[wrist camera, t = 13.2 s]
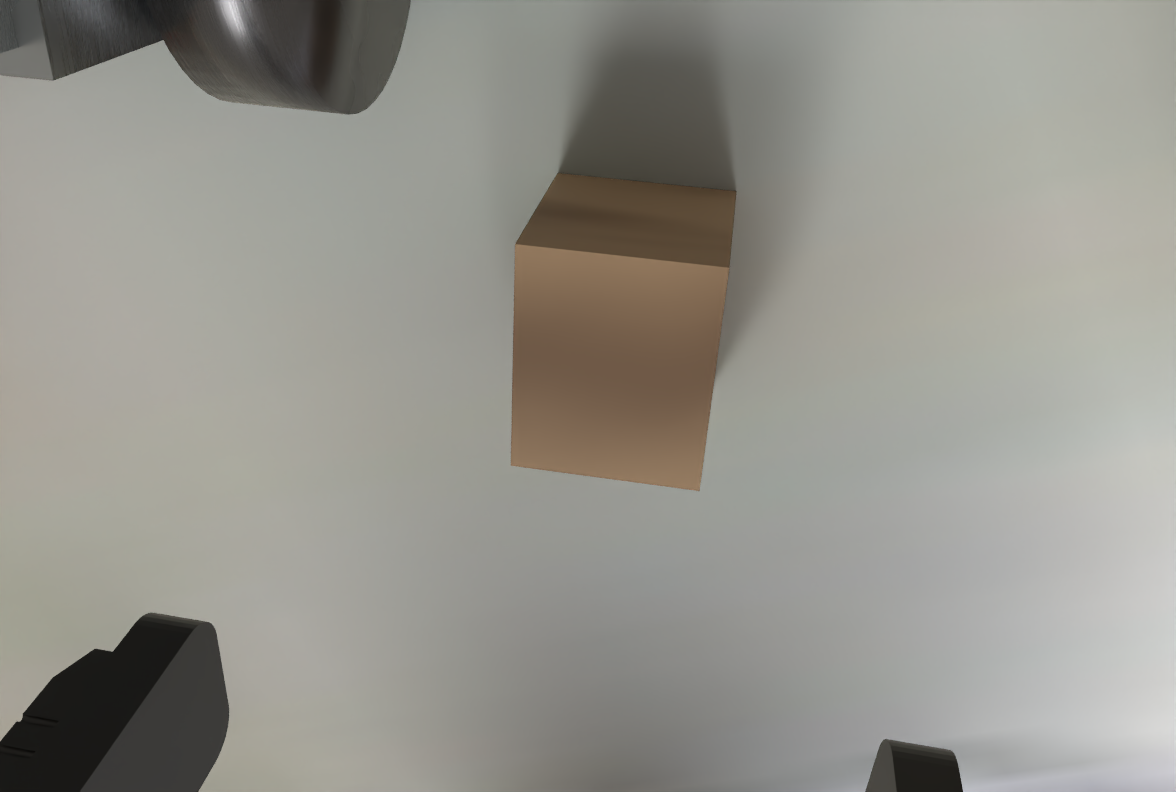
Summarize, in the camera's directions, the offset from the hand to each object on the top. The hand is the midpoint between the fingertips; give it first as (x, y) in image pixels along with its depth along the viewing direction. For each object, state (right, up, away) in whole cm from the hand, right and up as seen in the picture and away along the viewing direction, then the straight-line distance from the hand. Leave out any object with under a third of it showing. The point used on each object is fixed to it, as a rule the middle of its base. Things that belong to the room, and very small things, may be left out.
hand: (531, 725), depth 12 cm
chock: (+2, +7, +12) cm, 14 cm away
